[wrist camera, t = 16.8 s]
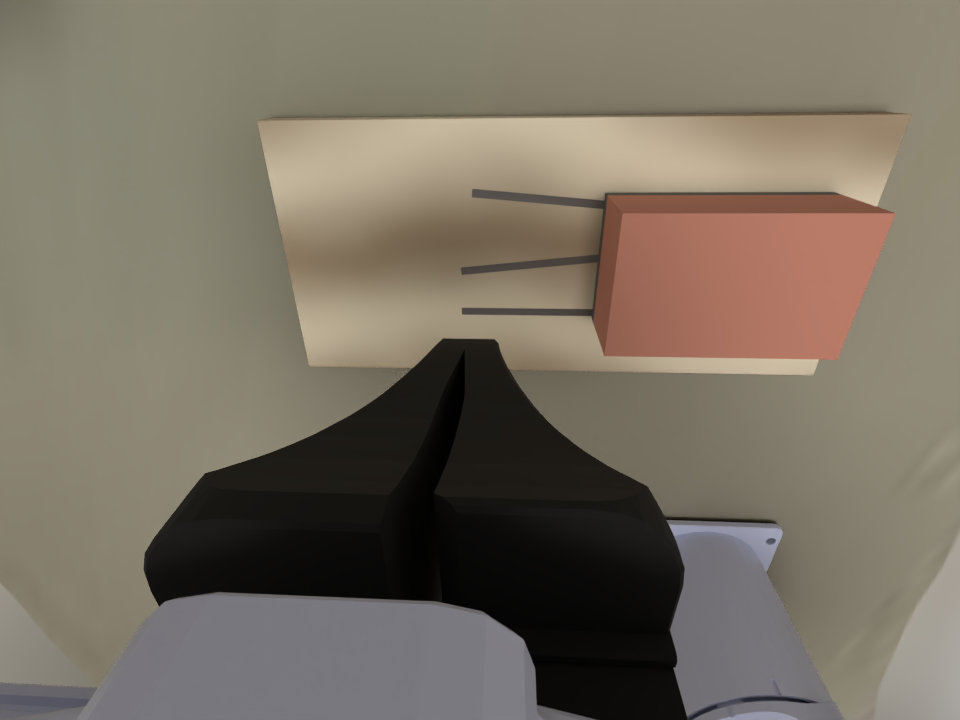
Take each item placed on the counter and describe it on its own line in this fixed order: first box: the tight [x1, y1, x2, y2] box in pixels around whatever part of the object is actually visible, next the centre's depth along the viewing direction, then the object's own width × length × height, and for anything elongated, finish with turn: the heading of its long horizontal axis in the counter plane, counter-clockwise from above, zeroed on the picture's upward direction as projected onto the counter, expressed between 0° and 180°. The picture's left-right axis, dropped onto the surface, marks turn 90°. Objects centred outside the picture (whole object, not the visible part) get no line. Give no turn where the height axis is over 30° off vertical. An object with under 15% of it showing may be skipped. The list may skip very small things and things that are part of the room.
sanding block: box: [592, 192, 896, 360], centre depth 17 cm, size 5×8×3 cm, turn 91°
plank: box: [257, 112, 912, 375], centre depth 20 cm, size 10×22×1 cm, turn 91°
